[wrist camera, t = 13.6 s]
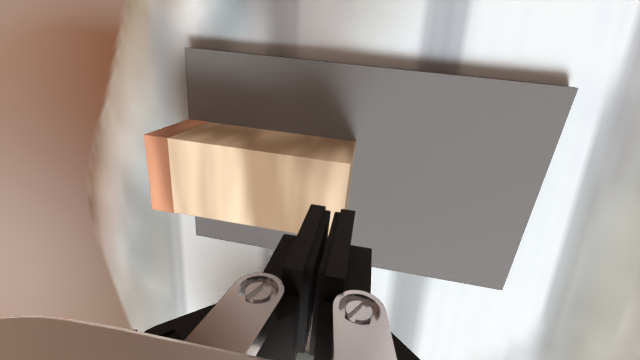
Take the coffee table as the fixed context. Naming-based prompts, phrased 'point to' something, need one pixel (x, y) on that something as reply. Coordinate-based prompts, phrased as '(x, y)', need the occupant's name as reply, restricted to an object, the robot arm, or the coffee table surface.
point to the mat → (400, 153)
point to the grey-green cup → (304, 356)
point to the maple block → (247, 173)
